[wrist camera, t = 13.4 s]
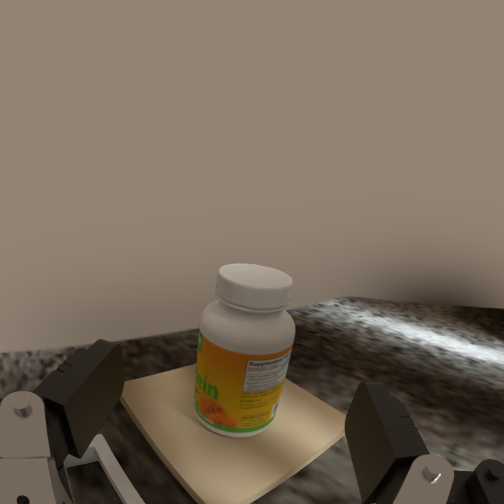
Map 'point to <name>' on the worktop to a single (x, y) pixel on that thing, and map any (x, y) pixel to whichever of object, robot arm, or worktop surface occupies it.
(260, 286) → the supplement bottle
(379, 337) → the worktop surface
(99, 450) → the square frame
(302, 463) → the pad
